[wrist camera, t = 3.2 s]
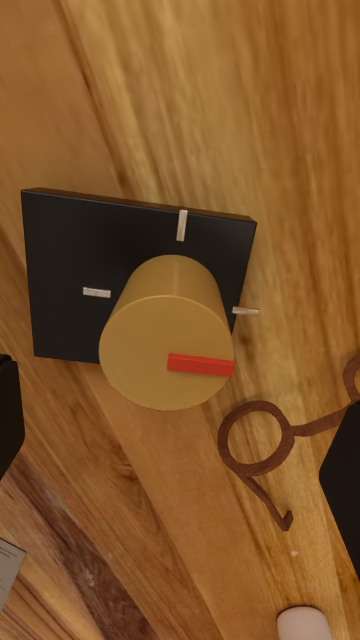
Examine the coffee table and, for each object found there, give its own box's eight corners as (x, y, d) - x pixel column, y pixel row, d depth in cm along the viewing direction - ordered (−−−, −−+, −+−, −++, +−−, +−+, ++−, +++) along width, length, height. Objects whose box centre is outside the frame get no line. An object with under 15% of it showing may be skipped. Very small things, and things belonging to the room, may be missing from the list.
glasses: (401, 329, 19) (466, 379, 15) (447, 461, 24) (506, 528, 20) (211, 414, 23) (218, 475, 18) (285, 515, 27) (304, 584, 23)
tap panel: (47, 341, 20) (32, 359, 18) (37, 184, 16) (17, 187, 14) (235, 363, 21) (240, 384, 19) (271, 217, 17) (282, 223, 15)
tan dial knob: (122, 337, 18) (95, 409, 12) (127, 248, 15) (97, 289, 10) (211, 348, 18) (221, 423, 13) (228, 261, 16) (250, 308, 10)
